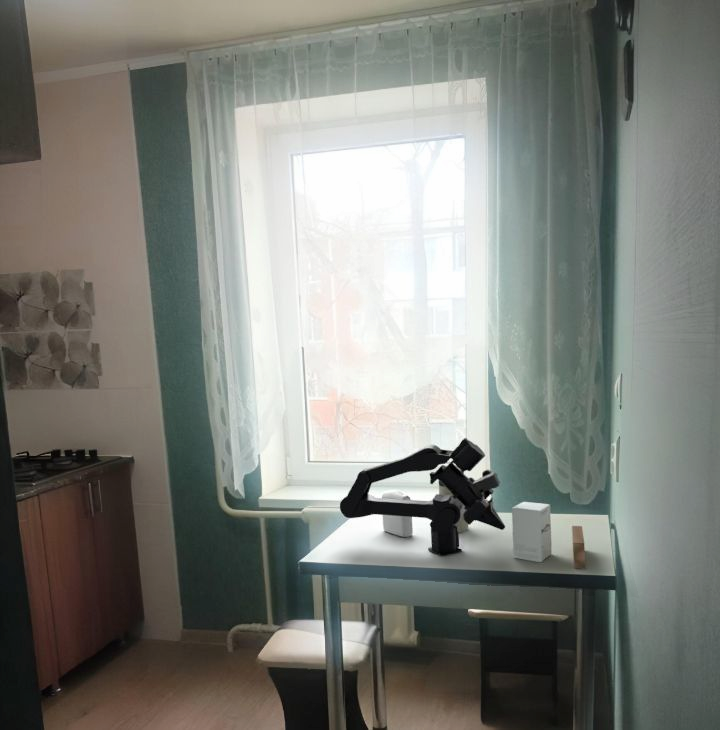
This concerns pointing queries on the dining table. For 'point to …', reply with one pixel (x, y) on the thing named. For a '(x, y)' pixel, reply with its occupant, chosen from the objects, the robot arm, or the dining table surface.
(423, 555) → the dining table surface
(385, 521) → the photo printer
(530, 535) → the supplement box
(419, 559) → the dining table surface
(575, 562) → the board
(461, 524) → the travel mug
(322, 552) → the dining table surface
